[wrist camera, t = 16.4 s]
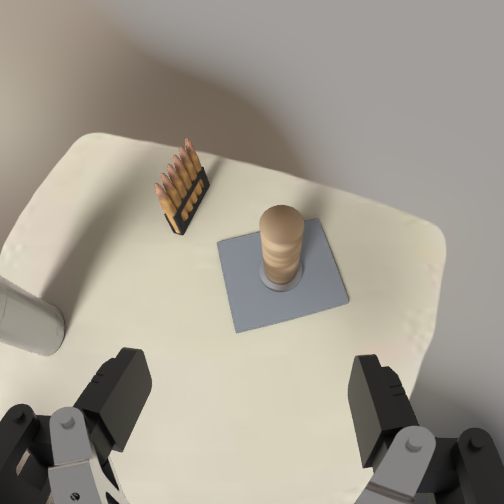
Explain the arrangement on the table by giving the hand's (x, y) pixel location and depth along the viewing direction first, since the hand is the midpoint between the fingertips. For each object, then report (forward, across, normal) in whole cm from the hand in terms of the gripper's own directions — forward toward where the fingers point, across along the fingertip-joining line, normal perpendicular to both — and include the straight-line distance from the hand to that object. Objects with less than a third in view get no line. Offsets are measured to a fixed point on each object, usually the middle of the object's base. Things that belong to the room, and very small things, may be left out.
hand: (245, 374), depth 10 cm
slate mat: (+31, -2, +9) cm, 33 cm away
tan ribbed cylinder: (+31, -2, +9) cm, 32 cm away
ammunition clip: (+40, +13, +1) cm, 42 cm away
